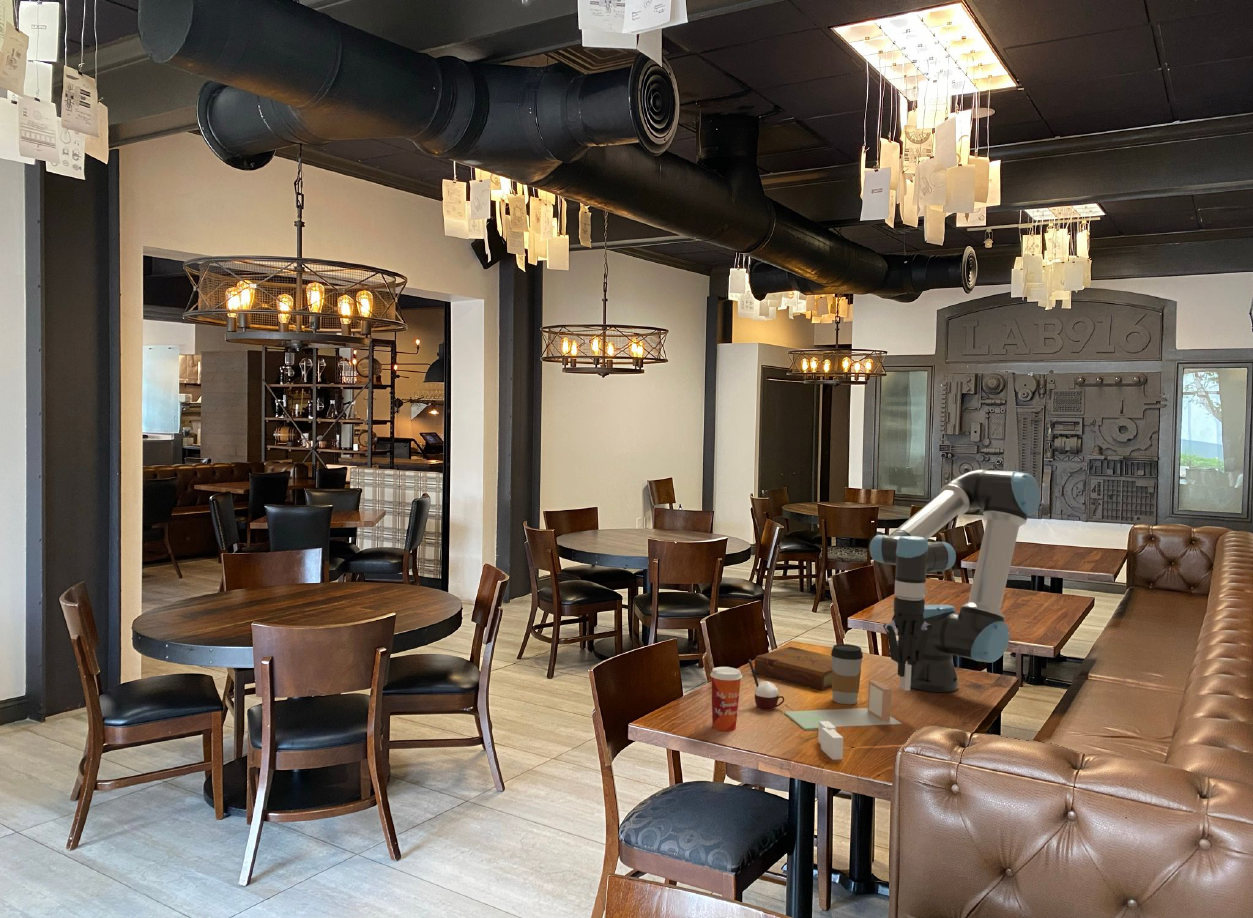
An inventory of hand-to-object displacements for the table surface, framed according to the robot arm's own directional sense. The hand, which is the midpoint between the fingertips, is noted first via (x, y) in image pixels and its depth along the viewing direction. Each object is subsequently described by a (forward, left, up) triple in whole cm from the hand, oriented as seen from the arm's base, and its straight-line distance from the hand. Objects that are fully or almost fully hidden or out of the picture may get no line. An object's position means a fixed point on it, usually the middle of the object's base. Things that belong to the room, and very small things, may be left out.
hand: (904, 688), depth 246 cm
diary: (+10, -39, -8) cm, 41 cm away
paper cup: (+49, +2, -8) cm, 50 cm away
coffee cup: (+10, -13, -8) cm, 18 cm away
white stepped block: (+29, +20, -8) cm, 36 cm away
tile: (+7, 0, -7) cm, 10 cm away
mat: (+17, 0, -7) cm, 19 cm away
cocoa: (+33, -12, -8) cm, 36 cm away
